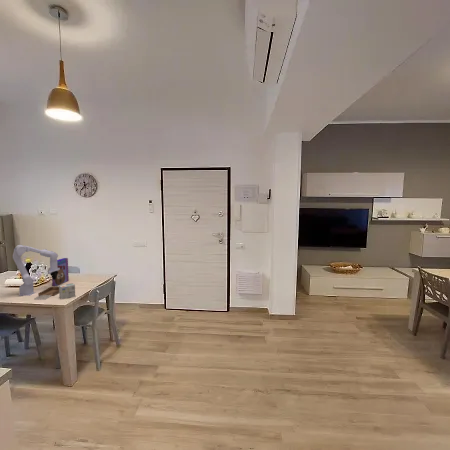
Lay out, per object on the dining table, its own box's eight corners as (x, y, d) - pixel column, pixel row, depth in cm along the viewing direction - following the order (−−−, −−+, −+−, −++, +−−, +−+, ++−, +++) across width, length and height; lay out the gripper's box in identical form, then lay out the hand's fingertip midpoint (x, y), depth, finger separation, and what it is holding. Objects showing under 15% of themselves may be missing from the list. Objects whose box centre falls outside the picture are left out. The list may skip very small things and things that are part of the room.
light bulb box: (72, 294, 231) (72, 282, 230) (75, 296, 227) (75, 284, 226) (58, 298, 223) (58, 285, 222) (62, 299, 218) (61, 287, 217)
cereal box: (57, 286, 253) (56, 261, 251) (52, 286, 253) (51, 261, 251) (68, 280, 270) (67, 258, 268) (64, 280, 270) (63, 257, 268)
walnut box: (38, 296, 225) (38, 293, 225) (51, 290, 242) (51, 286, 242) (53, 296, 225) (53, 293, 225) (65, 290, 242) (65, 286, 242)
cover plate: (34, 300, 217) (34, 298, 217) (40, 297, 225) (40, 295, 225) (45, 300, 217) (45, 298, 217) (51, 297, 225) (51, 295, 225)
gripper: (53, 267, 235) (53, 281, 236) (62, 263, 249) (63, 277, 250) (45, 266, 235) (45, 281, 236) (55, 263, 249) (55, 277, 250)
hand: (54, 279), depth 243 cm, fingers closed
